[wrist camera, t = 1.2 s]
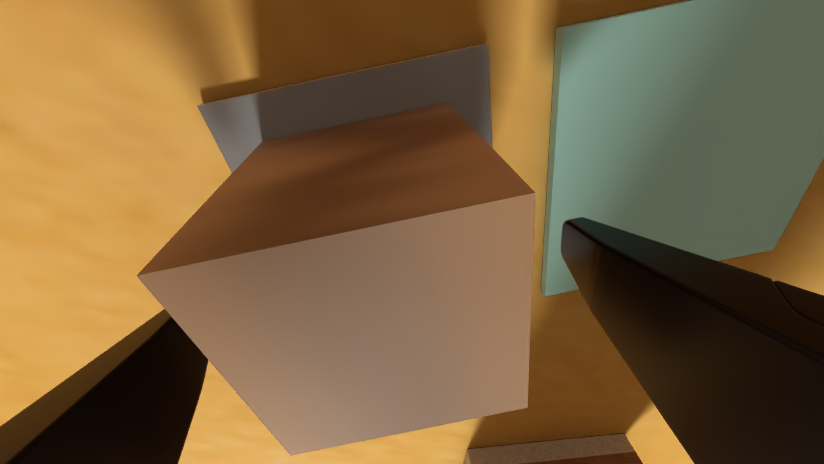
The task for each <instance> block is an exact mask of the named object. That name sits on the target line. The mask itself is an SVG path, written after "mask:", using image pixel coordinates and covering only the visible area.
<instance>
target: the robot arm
mask: <svg viewBox="0 0 824 464" xmlns="http://www.w3.org/2000/svg"><path fill="white" fill-rule="evenodd" d="M560 249H561V254H562V257H563V259H564V261H565V263H566V265H567V267H568V269H569V271H570V273H571V275H572V276H573V278H574V280H575V282H576V284H577V286H578V288H579V290H580V292H581V294H582V296H583V297H584V299H585V301H586V303H587V305H588V307H589V308H590V310H591V312H592V313H593V315H594V316H595V318H596V319H597V321H598V322H599V324H600V325H601V327H602V328H603V330H604V331H605V333H606V334H607V336H608V337H609V338H610V340H611V341H612V343H613V344H614V346H615V347H616V349H617V350H618V352H619V353H620V355H621V356H622V358H623V359H624V361H625V362H626V363H627V365H628V366H629V368H630V369H631V371H632V372H633V374H634V375H635V377H636V378H637V380H638V381H639V383H640V384H641V386H642V387H643V389H644V390H645V391H646V393H647V394H648V396H649V397H650V399H651V400H652V402H653V403H654V405H655V406H656V408H657V409H658V411H659V412H660V414H661V415H662V416H663V418H664V419H665V421H666V422H667V424H668V425H669V427H670V428H671V430H672V431H673V433H674V434H675V436H676V437H677V439H678V440H679V442H680V443H681V444H682V446H683V447H684V449H685V450H686V452H687V453H688V455H689V456H690V458H691V459H692V461H693V462H694V464H824V296H823V295H820V294H817V293H814V292H810V291H807V290H804V289H801V288H798V287H795V286H792V285H789V284H786V283H783V282H780V281H774V282H773V281H772V279H770V278H767V277H764V276H761V275H758V274H755V273H752V272H749V271H746V270H743V269H740V268H737V267H734V266H731V265H728V264H725V263H722V262H719V261H716V260H713V259H710V258H706V257H703V256H700V255H697V254H694V253H691V252H688V251H685V250H682V249H679V248H676V247H673V246H670V245H667V244H664V243H661V242H658V241H655V240H652V239H649V238H645V237H642V236H639V235H636V234H633V233H630V232H627V231H624V230H621V229H618V228H615V227H612V226H609V225H606V224H603V223H600V222H597V221H594V220H591V219H588V218H585V217H578V218H573V219H568V220H566V221H565V222H564V223H563V226H562V236H561V248H560ZM207 364H208V359H207V357H206V356H205V355H204V354H203V353H202V352H201V350H200V349H199V348H198V347H197V346H196V345H195V343H194V342H193V341H192V340H191V339H190V338H189V336H188V335H187V334H186V333H185V332H184V331H183V329H182V328H181V327H180V326H179V325H178V324H177V322H176V321H175V320H174V319H173V318H172V317H171V315H170V314H169V313H168V312H167V311H166V310H165V309H164V310H162V311H161V312H160V313H158V314H157V315H155V316H154V317H153V318H151V319H150V320H148V321H147V322H146V323H144V324H143V325H141V326H140V327H139V328H137V329H136V330H135V331H133V332H132V333H130V334H129V335H128V336H126V337H125V338H123V339H122V340H121V341H119V342H118V343H116V344H115V345H114V346H112V347H111V348H109V349H108V350H107V351H105V352H104V353H102V354H101V355H100V356H98V357H97V358H95V359H94V360H93V361H91V362H90V363H88V364H87V365H86V366H84V367H83V368H81V369H80V370H79V371H77V372H76V373H74V374H73V375H72V376H70V377H69V378H67V379H66V380H65V381H63V382H62V383H60V384H59V385H58V386H56V387H55V388H53V389H52V390H51V391H49V392H48V393H46V394H45V395H44V396H42V397H41V398H39V399H38V400H37V401H35V402H34V403H32V404H31V405H30V406H28V407H27V408H25V409H24V410H23V411H21V412H20V413H18V414H17V415H16V416H14V417H13V418H12V419H10V420H9V421H7V422H6V423H5V424H3V425H2V426H0V464H178V462H179V459H180V456H181V453H182V450H183V447H184V444H185V440H186V437H187V434H188V431H189V428H190V425H191V422H192V419H193V416H194V413H195V410H196V407H197V403H198V400H199V397H200V394H201V390H202V386H203V382H204V378H205V373H206V369H207Z"/></svg>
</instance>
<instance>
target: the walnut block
mask: <svg viewBox="0 0 824 464" xmlns="http://www.w3.org/2000/svg"><path fill="white" fill-rule="evenodd" d="M534 213H535V192H534V191H533V190H532V189H531V188H530V187H529V186H528V185H527V184H526V183H525V182H524V181H523V180H522V179H521V177H520V176H519V175H518V174H517V173H516V172H515V171H514V170H513V169H512V168H511V167H510V166H509V165H508V164H507V163H506V162H505V161H504V160H503V159H502V158H501V157H500V156H499V155H498V154H497V153H496V152H495V151H494V150H493V149H492V147H491V146H490V145H489V144H488V143H487V142H486V141H485V140H484V139H483V138H482V137H481V136H480V135H479V134H478V133H477V132H476V131H475V130H474V129H473V128H472V127H471V126H470V125H469V124H468V123H467V122H466V121H465V120H464V119H463V117H462V116H461V115H460V114H459V113H458V112H457V111H456V110H455V109H454V108H453V107H452V106H451V105H450V104H449V103H448V102H446V103H442V104H437V105H432V106H427V107H423V108H418V109H413V110H408V111H404V112H399V113H394V114H390V115H385V116H380V117H375V118H371V119H366V120H361V121H357V122H352V123H347V124H342V125H338V126H333V127H328V128H323V129H319V130H314V131H309V132H305V133H300V134H295V135H290V136H286V137H281V138H276V139H271V140H267V141H262V142H261V143H260V144H259V145H258V146H257V147H256V148H255V150H254V151H253V152H252V153H251V154H250V155H249V156H248V157H247V158H246V159H245V160H244V161H243V162H242V163H241V164H240V166H239V167H238V168H237V169H236V170H235V171H234V172H233V173H232V174H231V175H230V176H229V177H228V178H227V179H226V181H225V182H224V183H223V184H222V185H221V186H220V187H219V188H218V189H217V190H216V191H215V192H214V193H213V194H212V196H211V197H210V198H209V199H208V200H207V201H206V202H205V203H204V204H203V205H202V206H201V207H200V208H199V209H198V211H197V212H196V213H195V214H194V215H193V216H192V217H191V218H190V219H189V220H188V221H187V222H186V223H185V224H184V226H183V227H182V228H181V229H180V230H179V231H178V232H177V233H176V234H175V235H174V236H173V237H172V238H171V239H170V240H169V242H168V243H167V244H166V245H165V246H164V247H163V248H162V249H161V250H160V251H159V252H158V253H157V254H156V255H155V257H154V258H153V259H152V260H151V261H150V262H149V263H148V264H147V265H146V266H145V267H144V268H143V269H142V270H141V272H140V273H139V274H138V275H137V277H138V278H139V279H140V280H141V282H142V283H143V284H144V285H145V286H146V287H147V289H148V290H149V291H150V292H151V293H152V294H153V296H154V297H155V298H156V299H157V300H158V301H159V303H160V304H161V305H162V306H163V307H164V308H165V310H166V311H167V312H168V313H169V314H170V315H171V317H172V318H173V319H174V320H175V321H176V322H177V324H178V325H179V326H180V327H181V328H182V329H183V331H184V332H185V333H186V334H187V335H188V336H189V338H190V339H191V340H192V341H193V342H194V343H195V345H196V346H197V347H198V348H199V349H200V350H201V352H202V353H203V354H204V355H205V356H206V357H207V359H208V360H209V361H210V362H211V363H212V364H213V366H214V367H215V368H216V369H217V370H218V371H219V373H220V374H221V375H222V376H223V377H224V378H225V380H226V381H227V382H228V383H229V384H230V385H231V387H232V388H233V389H234V390H235V391H236V392H237V394H238V395H239V396H240V397H241V398H242V399H243V401H244V402H245V403H246V404H247V405H248V406H249V408H250V409H251V410H252V411H253V412H254V413H255V415H256V416H257V417H258V418H259V419H260V420H261V422H262V423H263V424H264V425H265V426H266V427H267V429H268V430H269V431H270V432H271V433H272V434H273V436H274V437H275V438H276V439H277V440H278V441H279V443H280V444H281V445H282V446H283V447H284V448H285V450H286V451H287V452H288V453H289V454H290V455H296V454H301V453H306V452H311V451H316V450H321V449H326V448H330V447H335V446H340V445H345V444H350V443H355V442H360V441H365V440H370V439H375V438H380V437H385V436H390V435H395V434H400V433H405V432H410V431H415V430H420V429H425V428H430V427H434V426H439V425H444V424H449V423H454V422H459V421H464V420H469V419H474V418H479V417H484V416H489V415H494V414H499V413H504V412H509V411H514V410H519V409H524V408H528V382H529V354H530V326H531V298H532V269H533V241H534Z"/></svg>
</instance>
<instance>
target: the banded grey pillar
mask: <svg viewBox="0 0 824 464" xmlns="http://www.w3.org/2000/svg"><path fill="white" fill-rule="evenodd" d="M464 464H643V463H642V462H641V460H640V458H639V457H638V455H637V453H636V452H635V450H634V449H633V447H632V445H631V444H630V442H629V440H628V439H627V437H626V436H625V434H624V433H623V434H613V435H603V436H593V437H583V438H573V439H563V440H553V441H543V442H533V443H523V444H513V445H503V446H493V447H483V448H473V449H467V453H466V457H465V461H464Z"/></svg>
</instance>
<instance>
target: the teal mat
mask: <svg viewBox="0 0 824 464" xmlns="http://www.w3.org/2000/svg"><path fill="white" fill-rule="evenodd" d="M823 159H824V0H686V1H681V2H676V3H672V4H667V5H662V6H658V7H653V8H648V9H644V10H639V11H634V12H629V13H625V14H620V15H615V16H611V17H606V18H601V19H597V20H592V21H587V22H583V23H578V24H573V25H568V26H564V27H559V28H556V38H555V56H554V73H553V91H552V108H551V126H550V143H549V160H548V178H547V195H546V213H545V230H544V248H543V265H542V283H541V291H542V293H543V294H544V296H545V297H546V296H551V295H556V294H561V293H566V292H571V291H576V290H579V288H578V286H577V284H576V282H575V280H574V278H573V276H572V275H571V273H570V271H569V269H568V267H567V265H566V263H565V261H564V259H563V257H562V254H561V249H560V248H561V236H562V226H563V223H564V222H565V221H566V220H568V219H573V218H578V217H585V218H588V219H591V220H594V221H597V222H600V223H603V224H606V225H609V226H612V227H615V228H618V229H621V230H624V231H627V232H630V233H633V234H636V235H639V236H642V237H645V238H649V239H652V240H655V241H658V242H661V243H664V244H667V245H670V246H673V247H676V248H679V249H682V250H685V251H688V252H691V253H694V254H697V255H700V256H703V257H706V258H710V259H713V260H716V261H722V260H727V259H732V258H736V257H741V256H746V255H751V254H756V253H761V252H766V251H771V250H774V249H775V247H776V245H777V243H778V241H779V240H780V238H781V236H782V234H783V232H784V230H785V229H786V227H787V225H788V223H789V221H790V219H791V218H792V216H793V214H794V212H795V210H796V209H797V207H798V205H799V203H800V201H801V199H802V198H803V196H804V194H805V192H806V190H807V188H808V187H809V185H810V183H811V181H812V179H813V178H814V176H815V174H816V172H817V170H818V168H819V167H820V165H821V163H822V161H823Z"/></svg>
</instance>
